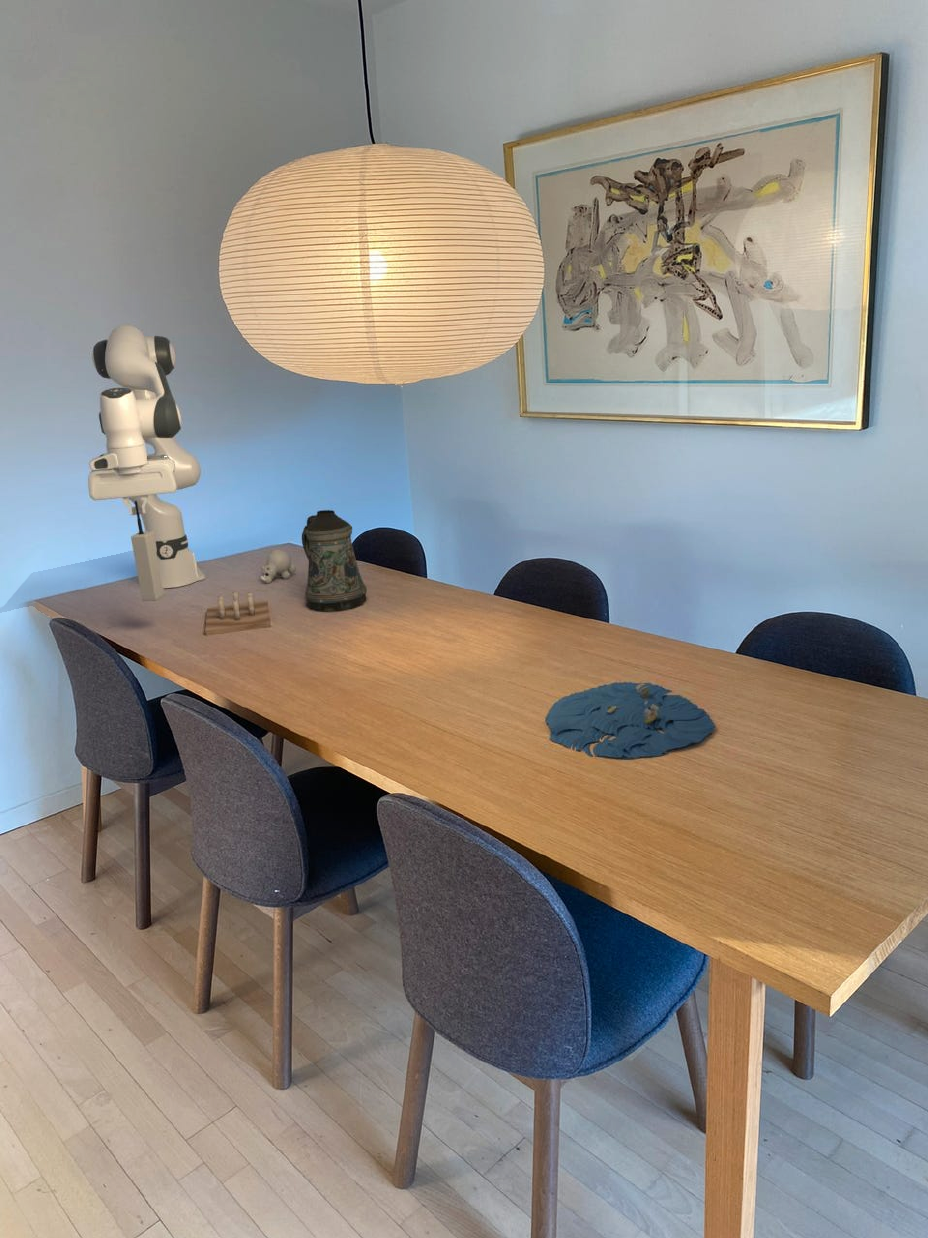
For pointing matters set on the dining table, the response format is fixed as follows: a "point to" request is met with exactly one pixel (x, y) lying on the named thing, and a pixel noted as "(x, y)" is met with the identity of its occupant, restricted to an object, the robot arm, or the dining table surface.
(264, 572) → the round bodied animal figurine
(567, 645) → the dining table surface
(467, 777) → the dining table surface
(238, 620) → the pin dock
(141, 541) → the vintage mobile phone
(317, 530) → the beer stein
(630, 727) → the decorative plate
